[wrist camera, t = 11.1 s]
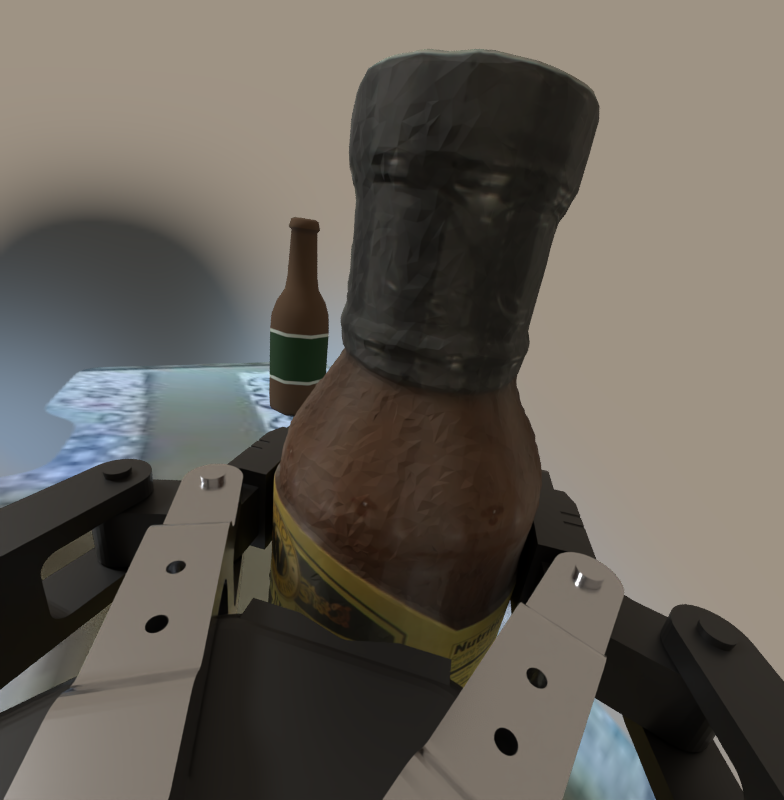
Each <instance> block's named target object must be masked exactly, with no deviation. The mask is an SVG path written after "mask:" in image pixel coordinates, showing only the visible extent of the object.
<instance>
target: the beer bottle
mask: <svg viewBox="0 0 784 800" xmlns="http://www.w3.org/2000/svg"><path fill="white" fill-rule="evenodd" d="M289 227H290V228H291V229H292V231H291V242H290V243H291V244H290V254H289V265H288V276H287V281H286V286H285V289H284V290H283V292H282V293H281V295H280V296H279V298H278V299H277V301H276V304H275V306H274V309H273V311H272V315H271V326H270V391H269V394H270V406H271V408H272V409H274V410H276V411H278V412H280V413H282V414H284V415H296V413H297V411H298V410H299V409H300V407H301V406H302V404H303V403H304V401H305V400H306V399H307V397H308V396H309V395H310V394H311V392H312V391H313V389H314V388H315V387H316V384H317V383H318V382H319V380H321V379H322V378H323V377H324V376H325V374H326V363H327V348H328V333H329V330H328V329H329V327H328V326H329V324H328V323H329V322H328V321H329V319H328V311H327V308H326V304H325V302H324V300H323V298H322V296H321V294H320V292H319V289H318V280H317V233H318V232H319V231H320V228H319V223H318V222H317V221H316V220H311V219H305V218H297V217H294V218H291V221H290V224H289Z"/></svg>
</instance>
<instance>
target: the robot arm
mask: <svg viewBox="0 0 784 800" xmlns="http://www.w3.org/2000/svg"><path fill="white" fill-rule="evenodd" d="M289 427H290V426H289ZM289 427H287V428H285V427H281V428H278V429H275V430H273V431H270V432H268V433H267V434H265V435H264V436H263V437H262V438H260V439H259V441H256V442H255V443H254V444H253V445H251V447H249V448H248V449H246V450H245V451H244V452H242V453H241V454H240V455H239V456H237V457H236V458H235V459H234V460H232V461H231V462H230V463H228V464H210V465H205V466H201V467H198V468H195V469H193V470H191V471H190V472H188V473H187V474H186V475H185V476H184V477H183V479H182V481H178V480H153V477H152V468H151V466H150V464H148V463H147V462H145V461H142V460H137V459H121V460H114V461H110V462H106V463H103V464H100V465H98V466H95V467H93V468H91V469H88V470H86V471H84V472H82V473H79V474H77V475H75V476H73V477H70V478H68V479H66V480H64V481H61V482H59V483H57V484H55V485H52V486H50V487H48V488H46V489H44V490H41V491H39V492H37V493H35V494H32V495H30V496H28V497H26V498H23V499H21V500H19V501H17V502H14V503H12V504H10V505H8V506H5V507H3V508H1V509H0V689H2V688H3V687H4V686H5V685H7V684H8V683H9V682H11V681H12V680H13V679H14V678H16V677H17V676H18V675H20V674H21V673H22V672H23V671H25V670H26V669H27V668H28V667H30V666H31V665H32V664H34V663H35V662H36V661H37V660H39V659H40V658H41V657H43V656H44V655H45V654H46V653H48V652H49V651H50V650H52V649H53V648H54V647H55V646H57V645H58V644H59V643H60V642H62V641H63V640H64V639H66V638H67V637H68V636H69V635H71V634H72V633H73V632H75V631H76V630H77V629H78V628H80V627H81V626H82V625H84V624H85V623H86V622H87V621H89V620H90V619H91V618H92V617H94V616H95V615H96V614H98V613H99V612H100V611H101V610H103V609H104V608H105V607H107V606H108V605H109V604H110V603H112V602H113V603H112V605H111V607H110V609H109V611H108V613H107V615H106V617H105V619H104V621H103V624H102V626H101V628H100V630H99V632H98V634H97V636H96V638H95V640H94V643H93V645H92V647H91V649H90V651H89V653H88V655H87V657H86V659H85V661H84V664H83V666H82V668H81V670H80V672H79V674H78V676H76V677H74V678H72V679H70V680H68V681H66V682H64V683H62V684H60V685H58V686H56V687H53V688H51V689H49V690H47V691H45V692H43V693H41V694H39V695H37V696H35V697H33V698H30V699H28V700H26V701H24V702H22V703H20V704H18V705H16V706H14V707H12V708H9V709H7V710H5V711H3V712H1V713H0V800H562V798H563V795H564V792H565V789H566V786H567V783H568V780H569V776H570V773H571V770H572V767H573V764H574V761H575V758H576V754H577V751H578V748H579V745H580V742H581V739H582V736H583V732H584V729H585V726H586V723H587V720H588V717H589V714H590V710H591V707H592V704H593V701H594V698H596V699H598V700H599V701H601V702H602V703H604V704H606V705H607V706H609V707H611V708H612V709H614V710H616V711H617V712H619V713H620V714H622V715H623V718H624V722H625V724H626V727H627V729H628V732H629V734H630V737H631V739H632V742H633V744H634V747H635V749H636V752H637V754H638V756H639V759H640V761H641V764H642V766H643V769H644V771H645V774H646V776H647V779H648V781H649V784H650V786H651V789H652V791H653V793H654V796H655V798H656V800H784V681H783V680H782V679H781V678H780V676H779V675H778V674H777V673H776V672H775V670H774V669H773V668H772V666H771V665H770V664H769V663H768V662H767V660H766V659H765V658H764V657H763V656H762V654H761V653H760V652H759V651H758V649H757V648H756V647H755V646H754V644H753V643H752V642H751V641H750V640H749V639H748V638H747V637H746V636H745V635H744V634H743V633H742V632H741V631H740V630H738V629H737V628H736V627H735V626H734V625H732V624H731V623H729V622H728V621H726V620H725V619H723V618H721V617H720V616H718V615H716V614H714V613H712V612H710V611H708V610H705V609H703V608H700V607H697V606H693V605H686V604H684V605H677V606H675V607H674V608H673V609H672V610H671V612H670V614H669V616H668V617H666V616H664V615H662V614H660V613H658V612H656V611H654V610H652V609H650V608H647V607H645V606H643V605H641V604H639V603H637V602H635V601H633V600H632V599H630V598H628V597H627V596H625V595H624V588H623V585H622V583H621V581H620V580H619V578H618V577H617V576H616V574H615V573H613V571H611V570H610V569H609V568H608V567H607V566H605V565H604V564H603V563H601V562H599V561H598V560H596V557H595V555H594V552H593V549H592V547H591V544H590V541H589V539H588V536H587V533H586V530H585V529H584V525H583V522H582V520H581V518H580V514H579V512H578V509H577V506H576V504H575V503H574V502H573V501H572V500H571V499H570V497H569V496H568V495H567V494H566V493H565V492H563V491H558V490H554V489H553V485H552V482H551V479H550V475H549V472H548V471H545V470H542V487H541V491H540V495H539V496H540V498H539V506H538V509H537V511H536V513H535V517H534V521H533V523H532V526H531V529H530V531H529V533H528V536H527V538H526V541H525V544H524V547H523V550H522V552H521V555H520V558H519V562H518V574H517V580H516V585H515V588H514V590H513V593H512V595H511V598H510V600H511V613H512V615H511V616H510V618H509V620H508V621H507V623H506V624H505V626H504V627H503V629H502V630H501V632H500V633H499V635H498V636H497V638H496V639H495V641H494V642H493V644H492V645H491V647H490V648H489V650H488V651H487V653H486V654H485V656H484V657H483V659H482V660H481V662H480V663H479V665H478V666H477V668H476V669H475V671H474V673H473V674H472V676H471V677H470V679H469V680H468V682H467V683H466V685H465V686H464V688H463V687H462V686H460V685H459V684H457V683H456V682H454V681H453V680H451V679H450V672H451V660H452V659H449V658H445V657H442V656H439V655H436V654H432V653H429V652H426V651H423V650H420V649H416V648H413V647H410V646H407V645H403V644H400V643H386V642H368V641H351V640H344V639H341V638H340V637H338V636H336V635H335V634H333V633H331V632H330V631H328V630H327V629H325V628H323V627H322V626H320V625H319V624H317V623H316V622H314V621H312V620H311V619H309V618H308V617H306V616H304V615H303V614H301V613H300V612H297V611H294V610H291V609H287V608H284V607H281V606H278V605H275V604H271V603H268V602H265V601H262V600H258V599H255V598H253V599H252V601H251V602H250V604H249V605H248V606H247V608H246V609H245V611H244V612H243V614H237V608H238V600H239V593H240V585H241V578H242V570H243V563H244V551H245V550H246V549H247V548H248V547H249V545H251V546H254V547H258V548H261V549H265V548H266V547H267V546H268V545H269V543H270V542H271V541H272V530H273V494H274V475H275V472H276V469H277V467H278V465H279V463H280V461H281V457H282V449H283V445H284V442H285V440H286V436H287V434H288V429H289ZM91 530H92V534H93V539H94V545H95V548H93V549H92V550H90V551H88V552H87V553H85V554H84V555H82V556H81V557H79V558H77V559H76V560H74V561H73V562H71V563H69V564H68V565H66V566H65V567H63V568H61V569H60V570H58V571H57V572H55V573H53V574H52V575H50V576H49V577H47V578H45V579H44V580H42V579H41V574H40V573H41V569H42V566H43V564H44V562H45V561H46V560H47V558H48V557H49V556H50V555H51V554H53V553H54V552H55V551H57V550H58V549H60V548H62V547H63V546H65V545H67V544H68V543H70V542H72V541H74V540H75V539H77V538H79V537H80V536H82V535H84V534H86V533H87V532H89V531H91ZM715 735H716V736H717V737H718V740H719V741H720V743H721V745H722V747H723V748H724V750H725V752H726V753H727V755H728V757H729V758H730V760H731V762H732V763H733V765H734V767H735V769H736V771H737V773H738V776H739V778H740V781H741V784H742V788H743V791H742V789H741V788H740V786H739V784H738V782H737V781H736V779H735V777H734V775H733V773H732V772H731V770H730V768H729V767H728V765H727V763H726V761H725V760H724V758H723V756H722V754H721V753H720V751H719V749H718V747H717V746H716V744H715V742H714V740H713V738H714V737H715Z"/></svg>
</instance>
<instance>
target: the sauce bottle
mask: <svg viewBox="0 0 784 800" xmlns="http://www.w3.org/2000/svg"><path fill="white" fill-rule="evenodd" d="M598 122H599V104H598V101H597V99H596V96H595V94H594V91H593V90H592V89H591V88H590V87H589V86H588V85H586V84H585V83H584V82H582V81H580V80H579V79H577V78H575V77H573V76H572V75H570V74H568V73H566V72H564V71H562V70H560V69H558V68H556V67H553V66H551V65H548V64H546V63H543V62H540V61H537V60H532V59H528V58H524V57H520V56H516V55H512V54H508V53H504V52H500V51H496V50H483V49H474V50H461V51H443V50H433V49H425V50H418V51H415V52H410V53H402V54H397V55H394V56H391V57H388V58H385V59H384V60H382V61H380V62H378V63H376V64H375V65H373V66H372V67H370V68H369V69H368V70H367V72H366V74H365V76H364V78H363V80H362V82H361V84H360V86H359V89H358V92H357V95H356V100H355V105H354V109H353V113H352V119H351V131H350V132H351V133H350V144H349V145H350V146H349V161H350V170H351V174H352V179H353V184H354V187H355V194H356V209H355V224H354V237H353V244H352V249H351V268H350V274H349V280H348V293H347V302H346V305H345V307H344V310H343V312H342V315H341V326H342V340H343V345H344V346H345V348H344V350H343V351H342V352H341V354H340V356H339V357H338V358H337V360H336V361H335V362H334V364H333V365H332V366H331V367H330V369H329V371H328V372H327V373H326V374H325V376H324V377H323V378H322V379H321V380H319V382H318V383H317V384H316V387H315V388H314V389H313V391H312V392H311V394H310V395H309V396H308V397H307V399H306V400H305V401H304V403H303V404H302V406H301V407H300V409H299V410H298V411H297V413H296V415H295V416H294V417H293V420H292V421H291V424H290V427H289V429H288V434H287V436H286V440H285V442H284V445H283V449H282V457H281V461H280V463H279V465H278V467H277V469H276V472H275V475H274V494H273V530H272V559H271V570H270V574H269V577H270V587H269V600H268V603H271V604H275V605H278V606H281V607H284V608H287V609H291V610H294V611H297V612H300V613H301V614H303V615H304V616H306V617H308V618H309V619H311V620H312V621H314V622H316V623H317V624H319V625H320V626H322V627H323V628H325V629H327V630H328V631H330V632H331V633H333V634H335V635H336V636H338V637H340V638H341V639H344V640H351V641H368V642H386V643H400V644H403V645H407V646H410V647H413V648H416V649H420V650H423V651H426V652H429V653H432V654H436V655H439V656H442V657H445V658H449V659H452V660H451V672H450V679H451V680H453V681H454V682H456V683H457V684H459V685H460V686H462V687H463V688H464V686H465V685H466V683H467V682H468V680H469V679H470V677H471V676H472V674H473V673H474V671H475V669H476V668H477V666H478V665H479V663H480V662H481V660H482V659H483V657H484V656H485V654H486V653H487V651H488V650H489V648H490V647H491V645H492V644H493V642H494V641H495V639H496V636H497V634H498V631H499V628H500V625H501V623H502V620H503V617H504V615H505V612H506V609H507V606H508V603H509V601H510V598H511V595H512V593H513V590H514V588H515V585H516V580H517V574H518V562H519V558H520V555H521V552H522V550H523V547H524V544H525V541H526V538H527V536H528V533H529V531H530V529H531V526H532V523H533V521H534V517H535V513H536V511H537V509H538V506H539V498H540V496H539V495H540V491H541V487H542V470H541V462H540V457H539V454H538V448H537V444H536V442H535V434H534V432H533V429H532V427H531V424H530V421H529V419H528V417H527V416H526V414H525V410H524V408H523V407H522V405H521V402H520V397H519V392H518V389H517V386H516V379H517V374H518V372H519V370H520V367H521V365H522V362H523V360H524V357H525V355H526V353H527V351H528V348H529V334H528V329H529V325H530V321H531V317H532V314H533V310H534V307H535V303H536V299H537V296H538V293H539V289H540V286H541V282H542V279H543V276H544V272H545V268H546V265H547V261H548V257H549V252H550V248H551V245H552V241H553V238H554V234H555V232H556V229H557V226H558V223H559V222H560V220H561V219H562V218H563V217H564V215H565V214H566V212H567V210H568V208H569V207H570V205H571V203H572V201H573V200H574V198H575V196H576V195H577V193H578V191H579V187H580V184H581V180H582V177H583V174H584V170H585V167H586V164H587V160H588V157H589V154H590V150H591V146H592V143H593V139H594V136H595V132H596V129H597V125H598Z"/></svg>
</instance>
